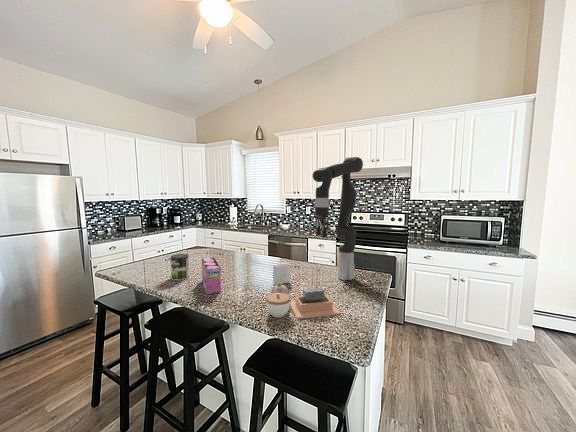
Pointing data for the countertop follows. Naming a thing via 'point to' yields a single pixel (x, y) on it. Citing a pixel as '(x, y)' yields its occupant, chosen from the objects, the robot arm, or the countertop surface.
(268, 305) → the lidded jar
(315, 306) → the caddy
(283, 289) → the decorative fruit
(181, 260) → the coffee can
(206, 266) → the gum box
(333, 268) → the countertop surface
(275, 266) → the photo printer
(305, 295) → the grey rectangular block
